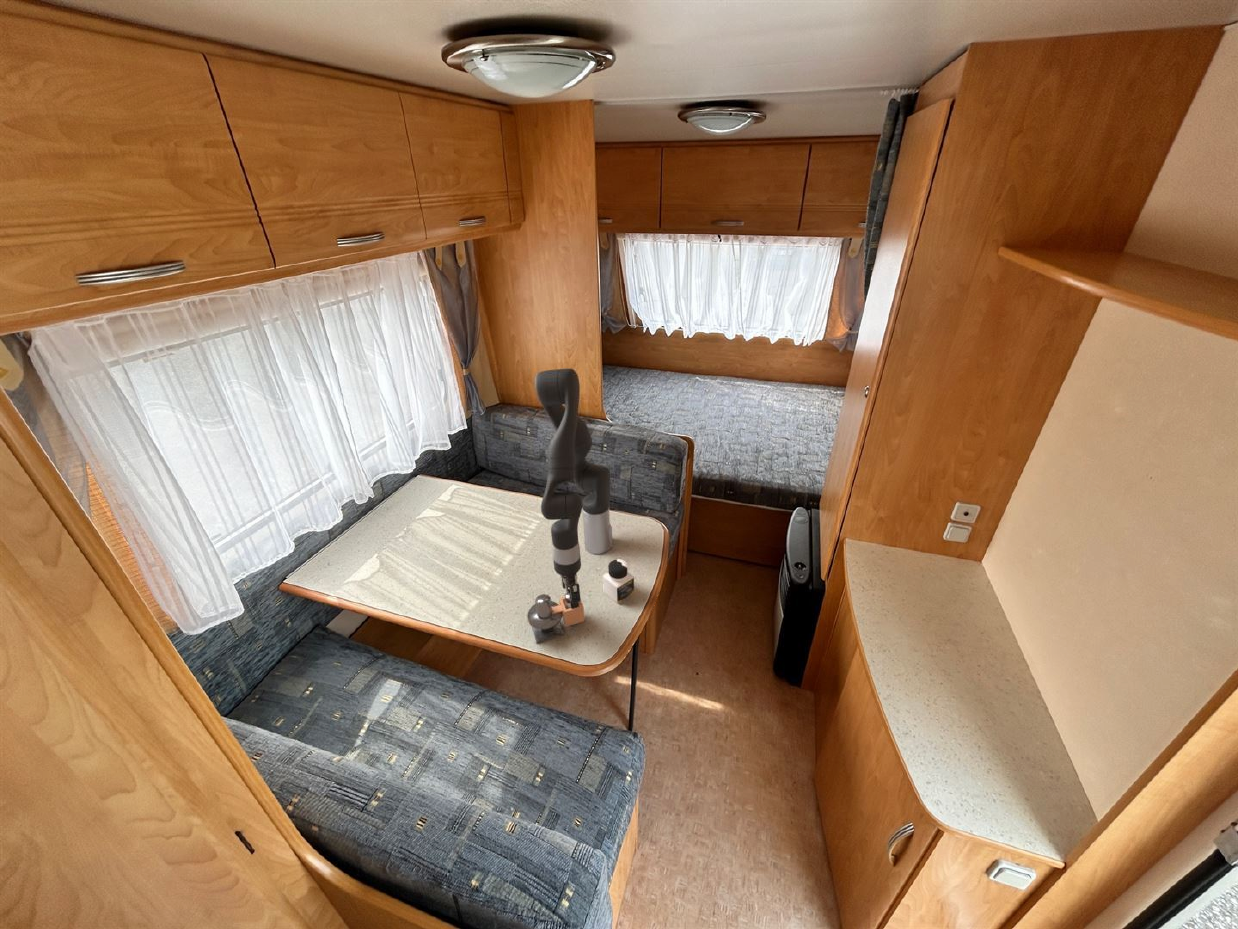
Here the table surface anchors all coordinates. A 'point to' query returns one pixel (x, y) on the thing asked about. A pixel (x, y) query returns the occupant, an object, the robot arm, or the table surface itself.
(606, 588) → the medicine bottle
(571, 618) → the bracket
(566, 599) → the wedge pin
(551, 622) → the grey ball joystick
